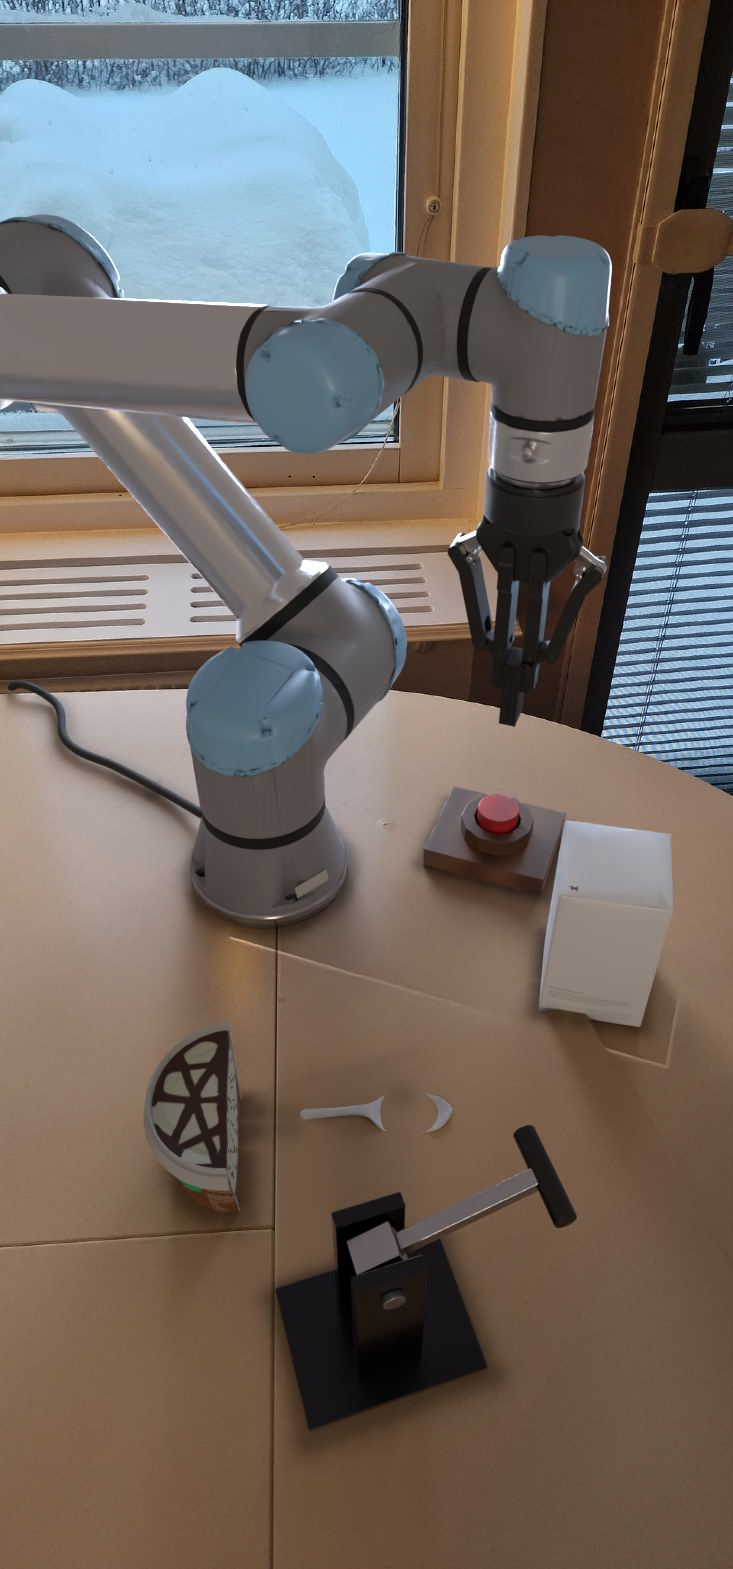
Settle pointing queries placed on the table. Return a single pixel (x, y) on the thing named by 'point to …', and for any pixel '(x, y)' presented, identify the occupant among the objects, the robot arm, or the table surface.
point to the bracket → (376, 1324)
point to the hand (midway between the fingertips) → (510, 716)
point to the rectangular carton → (606, 921)
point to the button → (498, 814)
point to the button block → (495, 843)
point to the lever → (469, 1209)
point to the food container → (198, 1116)
